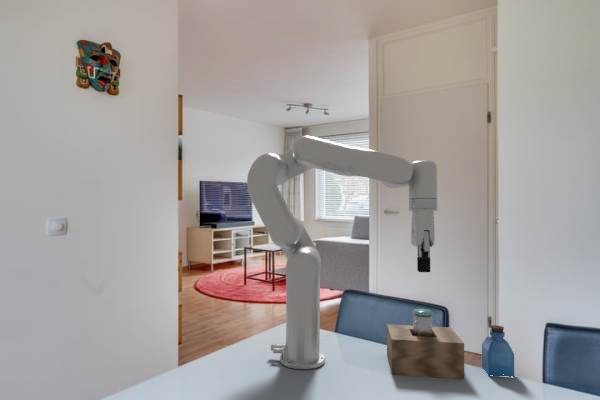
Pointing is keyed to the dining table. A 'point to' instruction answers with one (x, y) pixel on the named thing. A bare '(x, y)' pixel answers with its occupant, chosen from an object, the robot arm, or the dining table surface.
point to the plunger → (422, 322)
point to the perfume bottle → (497, 354)
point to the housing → (425, 352)
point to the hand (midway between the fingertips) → (423, 271)
